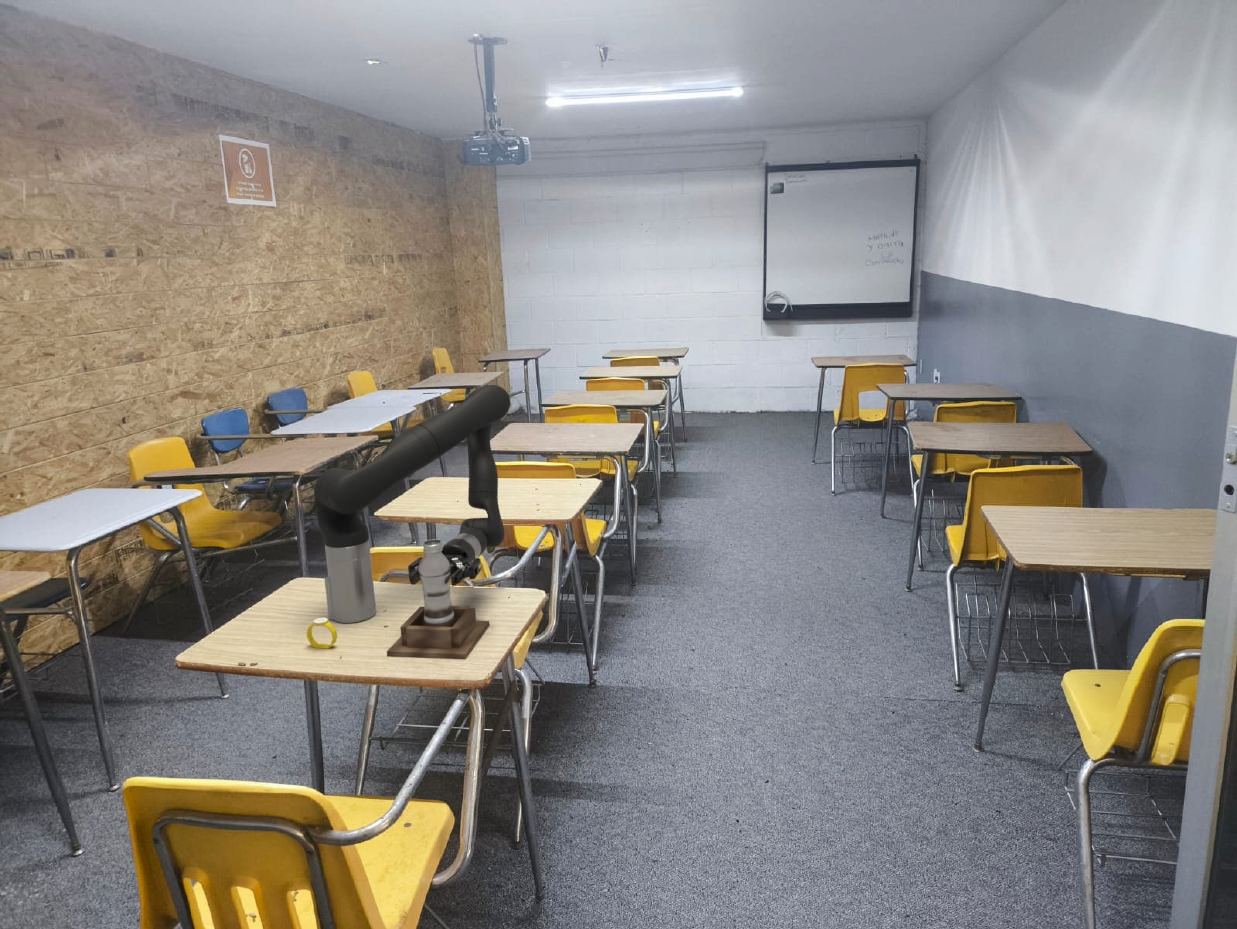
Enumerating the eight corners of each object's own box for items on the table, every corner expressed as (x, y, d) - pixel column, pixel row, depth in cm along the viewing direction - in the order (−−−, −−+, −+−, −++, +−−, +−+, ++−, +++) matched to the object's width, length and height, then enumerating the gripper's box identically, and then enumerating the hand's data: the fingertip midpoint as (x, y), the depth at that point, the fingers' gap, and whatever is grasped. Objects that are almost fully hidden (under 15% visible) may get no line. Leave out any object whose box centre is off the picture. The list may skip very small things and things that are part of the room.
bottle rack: (387, 656, 156) (384, 632, 154) (418, 623, 171) (416, 601, 170) (465, 659, 153) (463, 635, 152) (489, 625, 169) (488, 603, 168)
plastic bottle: (460, 628, 165) (453, 536, 161) (451, 642, 159) (442, 547, 154) (430, 627, 166) (422, 536, 161) (419, 642, 159) (410, 547, 155)
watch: (339, 646, 161) (338, 619, 160) (332, 652, 159) (331, 624, 157) (312, 642, 162) (311, 615, 161) (305, 648, 160) (303, 621, 158)
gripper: (427, 537, 174) (397, 562, 158) (489, 538, 172) (465, 563, 156) (429, 570, 175) (400, 597, 160) (491, 571, 173) (468, 599, 158)
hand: (432, 580), depth 158 cm, fingers open, 8 cm apart
